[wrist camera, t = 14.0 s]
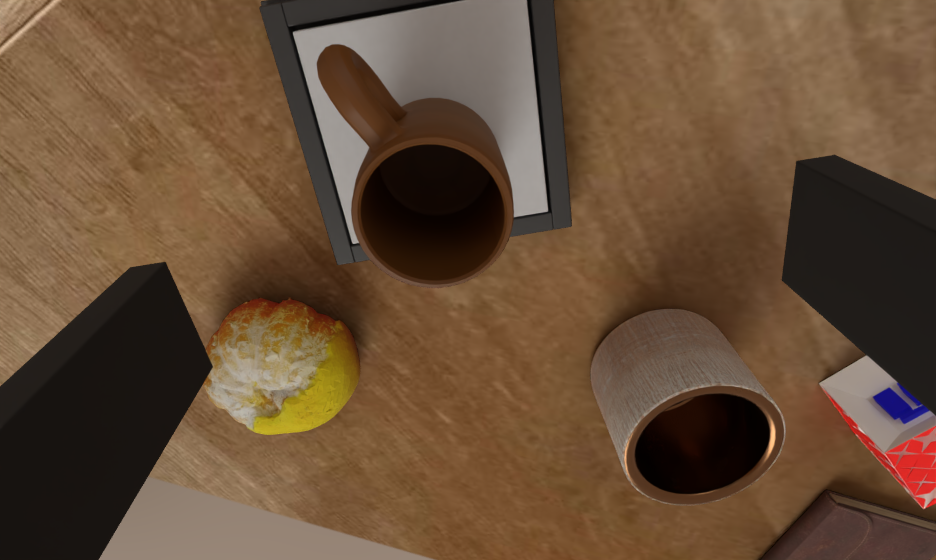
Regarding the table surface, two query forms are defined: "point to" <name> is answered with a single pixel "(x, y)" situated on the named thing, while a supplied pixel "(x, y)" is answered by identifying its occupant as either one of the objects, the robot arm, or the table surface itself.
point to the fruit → (281, 366)
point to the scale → (287, 10)
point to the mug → (420, 179)
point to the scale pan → (440, 82)
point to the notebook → (855, 533)
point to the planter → (684, 408)
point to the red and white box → (888, 425)
